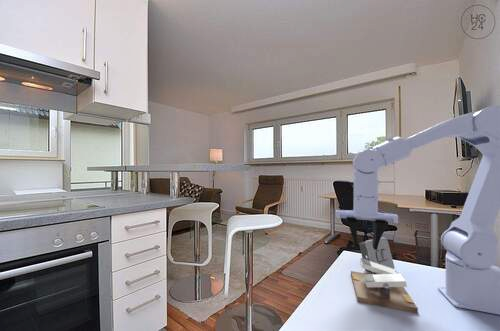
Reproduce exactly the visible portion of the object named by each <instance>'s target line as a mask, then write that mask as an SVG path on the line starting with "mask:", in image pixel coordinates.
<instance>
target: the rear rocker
mask: <svg viewBox="0 0 500 331" xmlns="http://www.w3.org/2000/svg"><path fill="white" fill-rule="evenodd" d="M359 263H360V267H361V269H364V270H365V269H367V270H366V271H368V270H369V272H371V273H372V272H375V273H377V274H398V272H396V270H395V268H394V269H392V268H389V267H386V266H383V265H380V264H377V263H374V262H371V261H369V260H366V259H363V258H362V257H361V258H360V260H359Z"/></svg>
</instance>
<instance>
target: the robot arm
mask: <svg viewBox="0 0 500 331" xmlns="http://www.w3.org/2000/svg"><path fill="white" fill-rule="evenodd" d="M446 137H447V138H452V139H454V138H459V139H461V140H462V141H464V142H466V143H468V144H470V145H472V146H473V147H475V148H476V149H477V150H478V151H479V152H480V153H481V154H482V158H481V160H480V162H479V166H478V168H477V171H476V173H475V176H474V178H473V182H472V184H471V186H470V188H469V192H468V194H467V197H466V199H465V202H464V204H463V208H462V210H461V212H460V215H459V217H457V218H455V219H454V220H453V221H451V223H450V226H449V228H448V229H446V230H444V232H443V233H442V234H441V236H440V242H441V245H442V247H443V248H444V249H445V250H446V254H445V287H443V286H437V289H438V291H439V292H440V293H441V294H442V295H443V296H444V297H445V298H446V299H447V300H448V301H449V302H450V303H451V304H452V305H453V306H454V307H456V308H462V309H466V310H473V311H477V312H483V313H489V314H494V315H499V316H500V267H499V266H496V265H495V264H496V263H497V262H498V259H499V253H498V243H499V240H500V239H499V237H498V235H497V234H496V231H495V230H494V228H493V227H494V225H495V222H496V219H497V217H498V214H499V212H500V105H490V106H487V107H485V108H482V109H481V110H479V111H476V110H475V111H471V112H468V113H466V114H462V115H461V114H460V115H459V116H455V117H452V118H449V119H447V120H445V121H442V122H440V123H437V124H436V125H433V126H431V127H429V128H427V129H425V130H422V131H420V132H418V133H416V134H414V135H411V136H409V137H407V138H405V137H401V136H395V137H393V136H390V137H388V138H386V139H385V140H386V141H384V142H381V143H380V144H378V145H375V146H373V145H371V146H368V148H367V149H364V150H363V151H361V152H359V153H358V154H356V155H355V157H354V158H353V160H352V162H351V165H352V166H353V169H354V173H353V175H354V176H353V177H354V178H353V208H352V209H351V210H348V209H347V210H346V209H345V210H344V209H336V210H335V218H336V219H345V221H346V223H347V225H348V228H349V231H350V234H351V238H352V245H353V247H354V248H358V237H357V236H358V223H357V222H358V221H357V220H363V221H371V222H372V239H373V248H374V250H377V248H378V244H379V241H380V238H382V237H383V234H384V232H385V231H386V230H387V228H388V223H393V224H399V215H397V214H396V213H385V212H379V206H378V204H379V201H378V200H379V198H378V197H379V193H378V192H379V185H378V184H379V179H378V170H379V169H380V167H383V168H384V167H386V166H389V165H391V164H394V163H396V162H399V161H402V160H404V159H407V158H409V157H410V155H411V153H412V152H413V151H414V149H417V148H419V147H422V146H425V145H427V144H430V143H432V142H436V141H438V140H440V139H443V138H446Z"/></svg>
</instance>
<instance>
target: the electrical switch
mask: <svg viewBox="0 0 500 331" xmlns="http://www.w3.org/2000/svg"><path fill="white" fill-rule="evenodd" d="M358 245H359V249H360V254H361V258H363V259H366V260H369V261H371V262H374V263H377V264H380V265H383V266H386V267H389V268H392V269H394V270H395V268H396V267H395V264H394V259H393V255H392V253H391V247H390V245H389V242H388V238H386V237H383V236H381V238H380V241H379V244H378V248H377V250H374V248H373V238H372V239H368V240H365V241H363V242H359V243H358ZM364 270H365V271H367V272H368V271H369V270H367V269H364ZM369 272H370V271H369ZM371 274H373V272H372V271H371Z"/></svg>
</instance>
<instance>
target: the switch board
mask: <svg viewBox="0 0 500 331" xmlns="http://www.w3.org/2000/svg"><path fill="white" fill-rule="evenodd" d="M367 274H368V273H366V272H360V271H353V270H350V277H351V281H352V285H353V290H354V293H355V297H356V301H357V302H360V303H366V304H369V305H375V306H379V307H380V306H381V307H386V308H391V309H395V310H401V311H405V312H410V313H411V312H412V313H415V314H418V313H419V310H418V309H419V308H418V306H417V305H416V304H415V302H414V300H413V299H412V297H411V296H410V295H409V293H408V291H407V290H406V288H405V287H389V288H384V287H367V286H366V283H365V281H364V276H363V275H367ZM371 274H372V275H375V274H377V273H375V272H373V273H371Z"/></svg>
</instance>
